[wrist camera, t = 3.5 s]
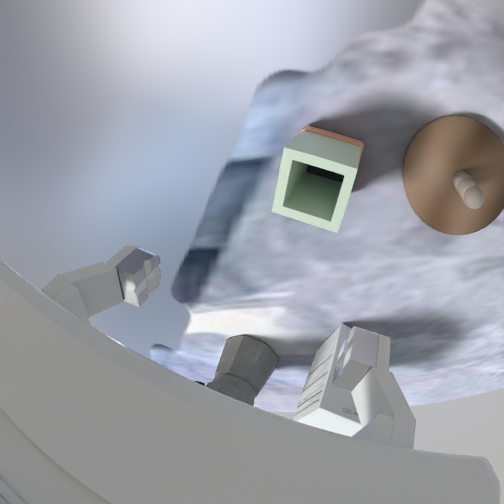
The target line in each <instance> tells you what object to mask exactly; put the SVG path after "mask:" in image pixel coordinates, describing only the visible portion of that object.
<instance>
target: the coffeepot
mask: <svg viewBox="0 0 504 504" xmlns="http://www.w3.org/2000/svg"><path fill="white" fill-rule="evenodd" d="M277 362H278V357H277V355H276V354H275V352H274V351H273V350H272V349H271V348H270V347H269V346H268V345H267V344H265V343H264V342H262V341H260V340H258V339H256V338H253V337H249V336H243V335H239V336H234V337H232V338H229V339H227V341H226V344H225V347H224V349H223V352H222V355H221V358H220V361H219V364H218V367H217V370H216V373H215V378H214V380H213V381H212V382H210V383H208V384H207V385H206V386H205V384H204V383H202V382H198V381H194V382H197V383H199V384H201V385H203V386H205V387H208V388H210V389H212V390H215V391H217V392H219V393H222V394H224V395H226V396H229V397H231V398H234V399H236V400H239V401H241V402H244V403H246V404H249V405H251V406H253V404H254V399H255V397H256V396H257V395H258V393H259V392H260V390H261V389H262V387H263V386H264V385H265V383H266V382H267V380H268V379H269V377H270V376H271V374H272V373H273V371H274V369H275V367H276V364H277Z"/></svg>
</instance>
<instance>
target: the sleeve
mask: <svg viewBox="0 0 504 504" xmlns="http://www.w3.org/2000/svg"><path fill="white" fill-rule="evenodd" d="M363 148H364V143H362V141H360V140H356V139H353V138H350V137H347V136H344V135H340V134H337V133H333V132H330V131H327V130H323V129H319V128H316V127H312V126H305V127H304V128H302V130H301V133H300V134H299V135H298V136H297V137H296V138H294V139H293V140H292V141H291V142H290V143H289V144H287V145H286V146H285V147H284V150H283V155H282V161H281V166H280V171H279V177H278V182H277V187H276V192H275V198H274V203H273V208H272V212H274V213H278V214H281V215H284V216H287V217H290V218H293V219H296V220H299V221H303V222H306V223H309V224H312V225H315V226H318V227H321V228H324V229H327V230H330V231H333V232H336V233H338V230H339V227H340V224H341V221H342V218H343V215H344V212H345V209H346V206H347V202H348V199H349V196H350V193H351V190H352V187H353V183H354V180H355V177H356V173H357V170H358V166H359V162H360V159H361V155H362V152H363ZM308 164H309V165H312V166H316V167H319V168H322V169H326V170H329V171H332V172H335V173H338V174H341V175H344V180H343V183H341V182H337V181H334V180H331V179H328V178H325V177H322V176H318V175H315V174H312V173H309V172H306V170H307V166H308Z"/></svg>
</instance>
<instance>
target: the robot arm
mask: <svg viewBox="0 0 504 504" xmlns="http://www.w3.org/2000/svg"><path fill="white" fill-rule="evenodd" d="M159 264H160V257H159V256H158V255H156V254H154V253H152V252H150V251H147V250H145V249H143V248H141V247H138V246H135V245H133V244H127V245H126V246H125V247H124V248H122V249H121V250H120V251H119V252H118V253H117V254H115V255H114V256H113V257H112V258H111V259H110V260H109V261H107V262H106V263H104V262H102V263H98V264H94V265H91V266H87V267H84V268H80V269H77V270H73V271H70V272H66V273H63V274H60V275H58V276H57V277H55V278H54V279H53V280H52V281H51V282H50V283H48V284H47V285H46V286H45V287H44V288H43V289H42V290H41V291H40V290H39V289H38V288H36V287H35V286H34V285H32V284H31V283H30V282H28V281H27V280H26V279H24V278H23V277H22V276H21V275H19V274H18V273H17V272H16V271H15V270H13V269H12V268H11V267H10V266H9V265H7V264H6V263H5V262H4V261H2V260H1V259H0V504H499V501H500V483H499V481H498V478H497V476H496V474H495V472H494V470H493V467H492V466H491V464H490V462H489V461H488V459H487V458H485V457H481V456H468V455H455V454H445V453H436V452H429V451H421V450H414V449H413V445H414V435H415V426H416V420H415V417H414V415H413V413H412V411H411V409H410V407H409V405H408V403H407V401H406V399H405V397H404V395H403V393H402V391H401V389H400V387H399V385H398V383H397V381H396V379H395V377H394V375H393V373H392V372H389V361H390V345H391V339H390V337H388V336H385V335H382V334H377V333H375V332H372V331H369V330H365V329H362V328H359V327H356V326H354V327H353V328H352V329H351V331H350V334H349V338H348V339H346V340H345V341H344V343H343V345H342V347H341V350H340V352H339V356H338V360H337V362H338V367H337V368H336V370H335V373H334V377H333V381H332V385H334V386H337V387H340V388H343V389H346V390H349V391H352V392H351V394H352V397H353V400H354V403H355V406H356V410H357V413H358V416H359V419H360V423H361V426H362V429H361V430H359V431H358V432H357V433H356V434H354V435H353V436H352V437H350V436H346V435H342V434H338V433H335V432H331V431H327V430H324V429H320V428H317V427H313V426H310V425H307V424H303V423H300V422H297V421H294V420H291V419H288V418H285V417H282V416H279V415H276V414H273V413H270V412H268V411H265V410H262V409H259V408H257V407H254V406H251V405H249V404H246V403H244V402H241V401H239V400H236V399H234V398H231V397H229V396H226V395H224V394H222V393H219V392H217V391H215V390H212V389H210V388H208V387H205V386H203V385H201V384H199V383H197V382H194V381H192V380H190V379H188V378H186V377H184V376H182V375H180V374H178V373H175V372H173V371H171V370H169V369H167V368H165V367H163V366H161V365H159V364H158V363H156V362H154V361H152V360H150V359H148V358H146V357H144V356H142V355H140V354H139V353H137V352H135V351H133V350H132V349H130V348H128V347H126V346H124V345H123V344H120V343H119V342H118V341H116V340H114V339H112V338H110V337H109V336H107V335H106V334H104V333H102V332H101V331H99V330H98V329H96V328H94V327H93V326H92V325H91V322H90V320H89V317H90V316H92V315H94V314H97V313H99V312H101V311H103V310H105V309H108V308H110V307H112V306H114V305H117V304H119V303H121V302H123V301H126V302H128V303H131V304H133V305H135V306H137V307H140V306H141V305H142V304H143V303H144V302H145V301H146V299H147V298H148V293H149V292H153V291H154V290H155V289H156V288H157V287H158V285H159V283H160V280H161V270H160V268H159V267H158V265H159Z"/></svg>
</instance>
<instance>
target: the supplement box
mask: <svg viewBox="0 0 504 504" xmlns="http://www.w3.org/2000/svg"><path fill="white" fill-rule="evenodd" d="M351 329H352V328H350V327H348V326H347V325H345V324H343V323H342V324H341V325H340V326H339V327H338V328H337V329H336V330H335V331H334V332H333V333H332V334H331V335H330V337H329V338H328V339H327V340H326V341H325V342H324V343H323V344H322V345H321V346H320V347H319V348H318V349H317V351H316V354H315V357H314V360H313V363H312V365H311V368H310V371H309V374H308V377H307V380H306V383H305V386H304V389H303V392H302V395H301V397H300V400H299V403H298V406H297V408H296V411H295V414H294V416H293V418H292V420H294V421H297V422H300V423H303V424H307V425H310V426H313V427H317V428H320V429H324V430H327V431H331V432H335V433H338V434H342V435H346V436H350V437H352V436H353V435H354V434H356V433H357V432H358V431H359V430H361V429H362V426H361V423H360V419H359V416H358V413H357V410H356V406H355V403H354V400H353V397H352V394H351V392H352V391H349V390H346V389H343V388H340V387H337V386H334V385H332V381H333V377H334V373H335V370H336V368H337V367H338V362H337V360H338V356H339V352H340V350H341V347H342V345H343V343H344V341H345V340H346V339H348V338H349V334H350V331H351Z"/></svg>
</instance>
